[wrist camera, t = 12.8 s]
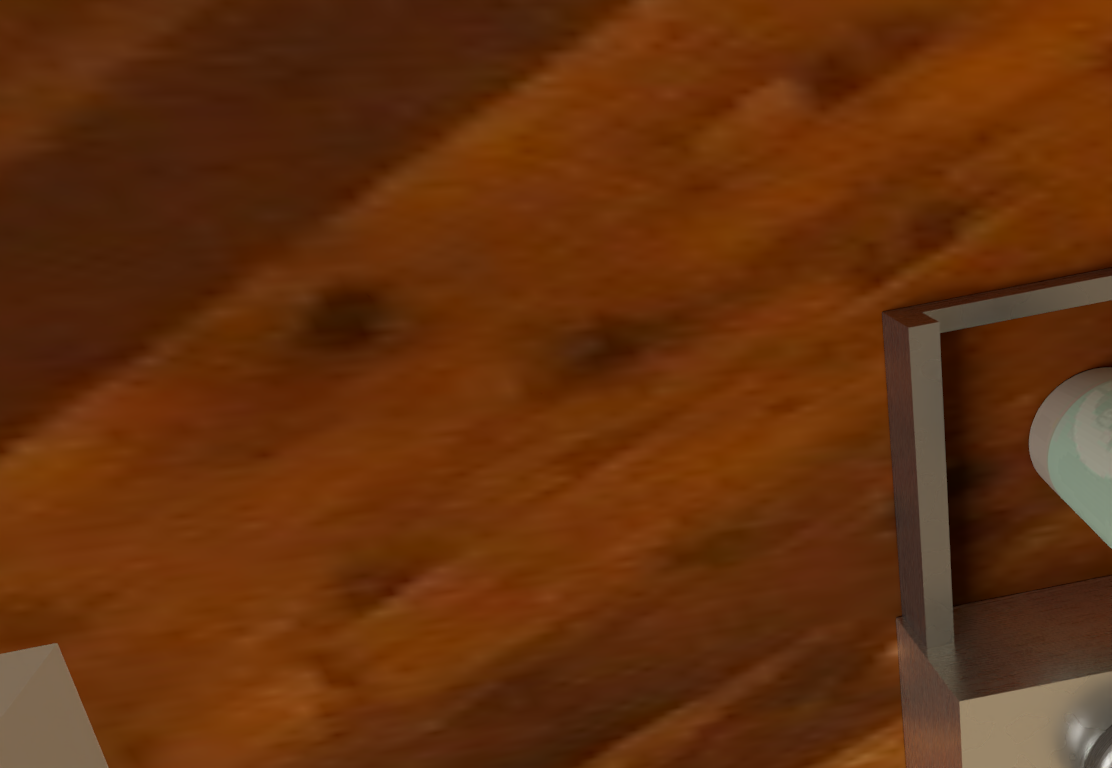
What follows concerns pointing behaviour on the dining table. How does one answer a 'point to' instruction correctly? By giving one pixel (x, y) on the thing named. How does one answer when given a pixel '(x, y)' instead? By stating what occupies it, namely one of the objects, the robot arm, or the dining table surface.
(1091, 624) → the button box with rail
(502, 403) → the dining table surface
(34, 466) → the dining table surface
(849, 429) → the dining table surface
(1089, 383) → the coffee cup
